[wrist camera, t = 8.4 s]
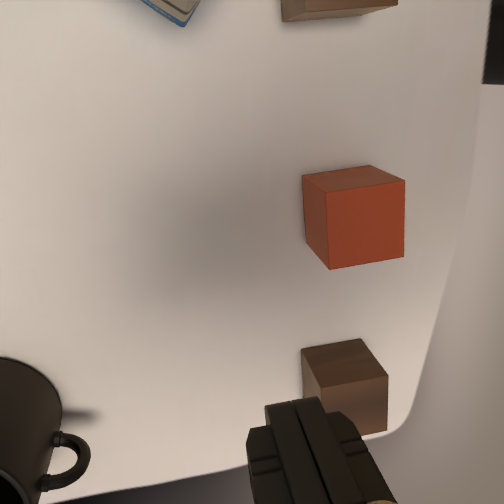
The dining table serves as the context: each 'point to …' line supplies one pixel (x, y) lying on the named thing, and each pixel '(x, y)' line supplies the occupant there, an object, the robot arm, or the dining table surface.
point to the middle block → (354, 216)
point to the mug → (32, 436)
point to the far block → (348, 383)
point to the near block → (330, 8)
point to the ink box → (174, 9)
